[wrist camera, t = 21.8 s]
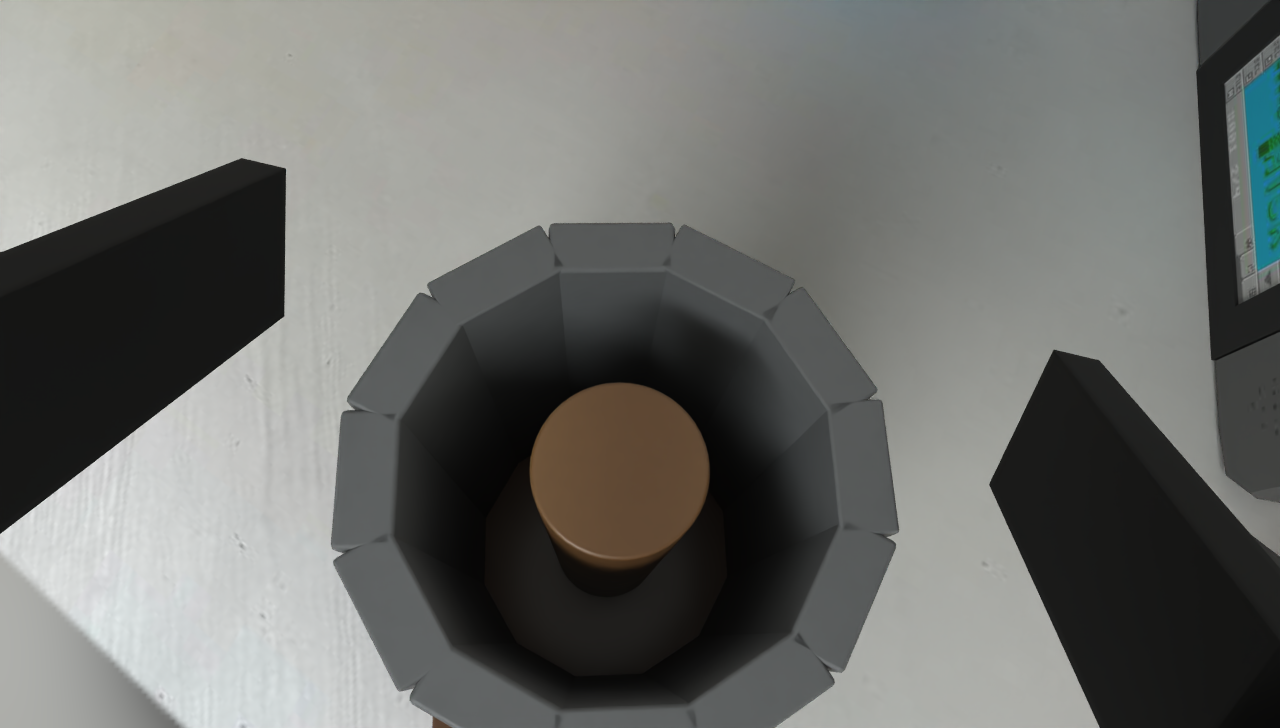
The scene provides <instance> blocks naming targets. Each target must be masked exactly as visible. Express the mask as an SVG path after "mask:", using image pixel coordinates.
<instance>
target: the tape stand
mask: <svg viewBox="0 0 1280 728" xmlns="http://www.w3.org/2000/svg"><path fill="white" fill-rule="evenodd" d="M709 481H710V463H709V456H708V452H707V448H706V444H705V441H704V439H703V437H702V434H701V432H700V430H699V429H698V427H697V425H696V423H695V422H694V421H693V419H692V418H691V417H690V415H689V414H688V413H687V412H686V411H685V410H684V409H683V408H682V407H681V406H680V405H679V404H678V403H676V402H675V401H674V400H673V399H671V398H670V397H668V396H666V395H665V394H663V393H661V392H659V391H657V390H655V389H652V388H649V387H646V386H643V385H639V384H633V383H622V382H616V383H605V384H600V385H596V386H593V387H590V388H587V389H584V390H582V391H580V392H578V393H576V394H574V395H573V396H571V397H569V398H568V399H566V400H565V401H564V402H563V403H561V404H560V405H559V406H558V407H557V408H556V409H555V410H554V411H553V412H552V413H551V414H550V415H549V417H548V418H547V419H546V421H545V422H544V424H543V425H542V427H541V429H540V431H539V433H538V435H537V437H536V440H535V443H534V445H533V449H532V453H531V456H529V457H528V458H526V459H524V460H523V461H521V462H519V463H518V464H517V466H516V468H515V469H514V471H513V473H512V475H511V476H510V478H509V480H508V481H507V483H506V485H505V486H504V488H503V490H502V491H501V493H500V495H499V497H498V498H497V500H496V502H495V503H494V505H493V507H492V508H491V510H490V512H489V513H488V515H487V517H486V529H485V575H484V584H485V586H486V588H487V590H488V592H489V593H490V595H491V597H492V599H493V601H494V602H495V604H496V606H497V608H498V610H499V612H500V613H501V615H502V617H503V619H504V621H505V622H506V624H507V626H508V628H509V630H510V631H511V633H512V635H513V637H514V639H515V640H516V642H517V643H518V644H519V645H521V646H523V647H525V648H526V649H528V650H530V651H532V652H534V653H535V654H537V655H539V656H541V657H542V658H544V659H546V660H548V661H549V662H551V663H553V664H555V665H556V666H558V667H560V668H562V669H563V670H565V671H567V672H569V673H570V674H572V675H574V676H597V675H622V674H643V673H644V672H646V671H647V670H649V669H650V668H652V667H653V666H655V665H656V664H658V663H659V662H661V661H662V660H664V659H665V658H667V657H668V656H670V655H671V654H673V653H674V652H676V651H677V650H679V649H680V648H682V647H683V646H685V645H686V644H688V643H689V642H691V641H692V640H694V639H695V638H697V637H698V636H699V634H700V632H701V630H702V628H703V626H704V624H705V622H706V620H707V618H708V616H709V614H710V612H711V609H712V607H713V605H714V603H715V601H716V599H717V597H718V595H719V593H720V591H721V589H722V587H723V585H724V582H725V580H726V578H727V563H726V548H725V533H724V518H723V511H722V509H721V508H720V506H719V505H718V503H717V501H716V500H715V498H714V497H713V495H712V494H711V492H710V491H709V489H708V488H709ZM432 728H452V727H450V726H449V725H447V724H445V723H444V722H442V721H440V720H439V719H437V718H435V717H433V724H432Z"/></svg>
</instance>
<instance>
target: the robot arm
mask: <svg viewBox="0 0 1280 728" xmlns="http://www.w3.org/2000/svg"><path fill="white" fill-rule="evenodd" d="M285 205H286V169H285V168H281V167H277V166H273V165H268V164H264V163H260V162H256V161H251V160H247V159H243V158H241V159H239V160H236V161H233V162H231V163H228V164H226V165H223V166H221V167H218V168H216V169H213V170H210V171H208V172H205V173H203V174H200V175H198V176H195V177H193V178H190V179H187V180H185V181H182V182H180V183H177V184H175V185H172V186H170V187H167V188H164V189H162V190H159V191H157V192H154V193H152V194H149V195H147V196H144V197H141V198H139V199H136V200H134V201H131V202H129V203H126V204H124V205H121V206H118V207H116V208H113V209H111V210H108V211H106V212H103V213H101V214H98V215H95V216H93V217H90V218H88V219H85V220H83V221H80V222H78V223H75V224H73V225H70V226H67V227H65V228H62V229H60V230H57V231H55V232H52V233H50V234H47V235H44V236H42V237H39V238H37V239H34V240H32V241H29V242H27V243H24V244H21V245H19V246H16V247H14V248H11V249H9V250H6V251H3V252H0V534H1V533H2V532H3V531H5V530H6V529H7V528H8V527H10V526H11V525H12V524H14V523H15V522H16V521H18V520H19V519H20V518H21V517H23V516H24V515H25V514H27V513H28V512H29V511H31V510H32V509H33V508H35V507H36V506H37V505H38V504H40V503H41V502H42V501H44V500H45V499H46V498H48V497H49V496H50V495H52V494H53V493H54V492H55V491H57V490H58V489H59V488H61V487H62V486H63V485H65V484H66V483H67V482H68V481H70V480H71V479H72V478H74V477H75V476H76V475H78V474H79V473H80V472H82V471H83V470H84V469H85V468H87V467H88V466H89V465H91V464H92V463H93V462H95V461H96V460H97V459H98V458H100V457H101V456H102V455H104V454H105V453H106V452H108V451H109V450H110V449H112V448H113V447H114V446H115V445H117V444H118V443H119V442H121V441H122V440H123V439H125V438H126V437H127V436H129V435H130V434H131V433H132V432H134V431H135V430H136V429H138V428H139V427H140V426H142V425H143V424H144V423H145V422H147V421H148V420H149V419H151V418H152V417H153V416H155V415H156V414H157V413H159V412H160V411H161V410H162V409H164V408H165V407H166V406H168V405H169V404H170V403H172V402H173V401H174V400H176V399H177V398H178V397H179V396H181V395H182V394H183V393H185V392H186V391H187V390H189V389H190V388H191V387H192V386H194V385H195V384H196V383H198V382H199V381H200V380H202V379H203V378H204V377H206V376H207V375H208V374H209V373H211V372H212V371H213V370H215V369H216V368H217V367H219V366H220V365H221V364H223V363H224V362H225V361H226V360H228V359H229V358H230V357H232V356H233V355H234V354H236V353H237V352H238V351H239V350H241V349H242V348H243V347H245V346H246V345H247V344H249V343H250V342H251V341H253V340H254V339H255V338H256V337H258V336H259V335H260V334H262V333H263V332H264V331H266V330H267V329H268V328H269V327H271V326H272V325H273V324H275V323H276V322H277V321H279V320H280V319H281V318H283V317H284V295H285ZM989 485H990V487H991V490H992V492H993V494H994V496H995V498H996V501H997V503H998V505H999V507H1000V509H1001V512H1002V514H1003V516H1004V518H1005V520H1006V523H1007V525H1008V527H1009V529H1010V531H1011V534H1012V536H1013V538H1014V540H1015V542H1016V545H1017V547H1018V549H1019V551H1020V553H1021V556H1022V558H1023V560H1024V562H1025V564H1026V567H1027V569H1028V571H1029V573H1030V575H1031V578H1032V580H1033V582H1034V584H1035V586H1036V589H1037V591H1038V593H1039V595H1040V597H1041V600H1042V602H1043V604H1044V606H1045V608H1046V611H1047V613H1048V615H1049V617H1050V619H1051V622H1052V624H1053V626H1054V628H1055V630H1056V632H1057V635H1058V637H1059V639H1060V641H1061V643H1062V646H1063V648H1064V650H1065V652H1066V654H1067V657H1068V659H1069V661H1070V663H1071V665H1072V668H1073V670H1074V672H1075V674H1076V676H1077V679H1078V681H1079V683H1080V685H1081V687H1082V690H1083V692H1084V694H1085V696H1086V698H1087V701H1088V703H1089V705H1090V707H1091V709H1092V712H1093V714H1094V716H1095V718H1096V720H1097V723H1098V725H1099V727H1100V728H1280V557H1279V556H1278V555H1277V554H1275V553H1274V552H1273V551H1271V550H1270V549H1269V548H1268V547H1266V546H1265V545H1264V544H1262V543H1261V542H1260V541H1258V540H1257V539H1256V538H1254V537H1253V536H1252V535H1251V534H1250V533H1249V532H1248V531H1247V530H1246V529H1245V527H1244V526H1243V525H1242V524H1241V523H1240V522H1239V520H1238V519H1237V518H1236V517H1235V516H1234V515H1233V514H1232V512H1231V511H1230V510H1229V509H1228V508H1227V507H1226V506H1225V504H1224V503H1223V502H1222V501H1221V500H1220V499H1219V497H1218V496H1217V495H1216V494H1215V493H1214V492H1213V491H1212V489H1211V488H1210V487H1209V486H1208V485H1207V484H1206V483H1205V481H1204V480H1203V479H1202V478H1201V477H1200V476H1199V475H1198V473H1197V472H1196V471H1195V470H1194V469H1193V468H1192V466H1191V465H1190V464H1189V463H1188V462H1187V461H1186V460H1185V458H1184V457H1183V456H1182V455H1181V454H1180V453H1179V452H1178V450H1177V449H1176V448H1175V447H1174V446H1173V445H1172V443H1171V442H1170V441H1169V440H1168V439H1167V438H1166V437H1165V435H1164V434H1163V433H1162V432H1161V431H1160V430H1159V429H1158V427H1157V426H1156V425H1155V424H1154V423H1153V422H1152V421H1151V419H1150V418H1149V417H1148V416H1147V415H1146V414H1145V412H1144V411H1143V410H1142V409H1141V408H1140V407H1139V406H1138V404H1137V403H1136V402H1135V401H1134V400H1133V399H1132V398H1131V396H1130V395H1129V394H1128V393H1127V392H1126V391H1125V389H1124V388H1123V387H1122V386H1121V385H1120V384H1119V383H1118V381H1117V380H1116V379H1115V378H1114V377H1113V376H1112V375H1111V373H1110V372H1109V371H1108V370H1107V369H1106V368H1105V367H1104V365H1103V364H1102V363H1101V362H1100V361H1099V360H1095V359H1091V358H1087V357H1083V356H1078V355H1074V354H1070V353H1066V352H1061V351H1057V350H1053V352H1052V354H1051V356H1050V358H1049V361H1048V363H1047V365H1046V367H1045V369H1044V371H1043V373H1042V375H1041V377H1040V379H1039V381H1038V384H1037V386H1036V388H1035V390H1034V392H1033V394H1032V396H1031V398H1030V400H1029V402H1028V404H1027V406H1026V409H1025V411H1024V413H1023V415H1022V417H1021V419H1020V421H1019V423H1018V425H1017V427H1016V429H1015V432H1014V434H1013V436H1012V438H1011V440H1010V442H1009V444H1008V446H1007V448H1006V450H1005V452H1004V455H1003V457H1002V459H1001V461H1000V463H999V465H998V467H997V469H996V471H995V473H994V475H993V477H992V480H991V482H990V484H989Z"/></svg>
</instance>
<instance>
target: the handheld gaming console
mask: <svg viewBox="0 0 1280 728" xmlns="http://www.w3.org/2000/svg"><path fill="white" fill-rule="evenodd" d="M1198 33H1199V52H1200V66H1201V67H1200V68H1199V69H1198V70H1197V89H1198V108H1199V128H1200V147H1201V166H1202V186H1203V205H1204V224H1205V244H1206V263H1207V282H1208V302H1209V321H1210V340H1211V360H1215V361H1216V379H1217V397H1218V416H1219V430H1220V437H1221V444H1222V451H1223V457H1224V464H1225V471H1226V475H1227V476H1228V477H1229V478H1231V479H1232V480H1233V481H1235V482H1236V483H1237V484H1239V485H1240V486H1241V487H1243V488H1244V489H1245V490H1246V491H1248V492H1249V493H1250V494H1252V495H1253V496H1255V497H1256V498H1257V499H1263V500H1268V501H1274V502H1279V503H1280V0H1198Z"/></svg>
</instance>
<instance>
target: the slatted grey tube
mask: <svg viewBox="0 0 1280 728" xmlns="http://www.w3.org/2000/svg"><path fill="white" fill-rule="evenodd" d="M794 283H795V280H794V279H792V278H790V277H788V276H786V275H784V274H782V273H780V272H778V271H776V270H774V269H772V268H770V267H768V266H766V265H764V264H762V263H760V262H758V261H756V260H754V259H752V258H750V257H748V256H746V255H744V254H742V253H740V252H738V251H736V250H734V249H732V248H730V247H728V246H726V245H724V244H722V243H720V242H718V241H716V240H714V239H712V238H710V237H708V236H706V235H704V234H702V233H700V232H698V231H696V230H694V229H692V228H691V227H689V226H687V225H683V226H682V227H681V228H680V230H679V232H678V233H677V235H676V237H675V228H674V226H673V224H672V223H554V224H551V225H550V227H549V238H548V236H547V235H546V233H545V232H544V230H543V229H542V227H541V226H537V227H535V228H533V229H531V230H529V231H527V232H525V233H523V234H521V235H519V236H517V237H516V238H514V239H512V240H510V241H508V242H506V243H504V244H502V245H500V246H498V247H496V248H494V249H493V250H491V251H489V252H487V253H485V254H483V255H481V256H479V257H477V258H475V259H473V260H471V261H470V262H468V263H466V264H464V265H462V266H460V267H458V268H456V269H454V270H452V271H450V272H448V273H446V274H445V275H443V276H441V277H439V278H437V279H435V280H433V281H431V282H429V283H428V284H427V286H428V289H429V291H430V293H431V295H432V297H433V298H432V297H430V296H428V295H426V294H424V293H419V294H418V295H417V296H416V297H415V299H414V300H413V302H412V303H411V305H410V306H409V308H408V309H407V311H406V312H405V313H404V315H403V316H402V318H401V319H400V321H399V322H398V324H397V325H396V327H395V328H394V330H393V331H392V333H391V334H390V336H389V337H388V338H387V340H386V341H385V343H384V344H383V346H382V347H381V349H380V350H379V352H378V353H377V355H376V356H375V358H374V359H373V361H372V362H371V363H370V365H369V366H368V368H367V369H366V371H365V372H364V374H363V375H362V377H361V378H360V380H359V381H358V383H357V384H356V386H355V387H354V388H353V390H352V391H351V393H350V394H349V396H348V398H347V402H348V403H349V404H350V405H351V406H352V407H353V408H354V409H355V410H347V411H344V412H343V413H342V415H341V422H340V435H339V447H338V460H337V473H336V486H335V499H334V512H333V524H332V537H331V546H332V549H333V550H336V551H339V552H341V553H344V554H342V555H341V556H339V557H337V558H336V559H335V560H334V561H333V564H334V566H335V568H336V570H337V572H338V574H339V576H340V578H341V580H342V582H343V584H344V586H345V588H346V590H347V592H348V594H349V596H350V598H351V600H352V602H353V604H354V606H355V608H356V610H357V611H358V613H359V615H360V617H361V619H362V621H363V623H364V625H365V627H366V629H367V631H368V633H369V635H370V637H371V639H372V641H373V643H374V645H375V647H376V649H377V651H378V653H379V655H380V657H381V659H382V661H383V663H384V665H385V667H386V669H387V670H388V672H389V674H390V676H391V678H392V680H393V682H394V684H395V686H396V688H397V690H398V691H405V690H408V689H412V688H414V689H413V691H412V693H411V695H410V701H411V703H412V704H413V705H415V706H416V707H418V708H420V709H421V710H423V711H425V712H427V713H428V714H430V715H432V716H433V717H435V718H437V719H439V720H440V721H442V722H444V723H445V724H447V725H449V726H450V727H452V728H775V727H776V726H777V725H779V724H780V723H782V722H783V721H784V720H786V719H787V718H789V717H790V716H791V715H793V714H794V713H796V712H797V711H798V710H800V709H801V708H803V707H804V706H805V705H807V704H808V703H810V702H811V701H812V700H814V699H815V698H817V697H818V696H819V695H821V694H822V693H823V692H825V691H826V690H828V689H829V688H830V687H832V686H833V685H834V683H835V682H834V678H833V677H832V675H831V674H830V672H829V671H832V672H840V673H842V672H843V671H844V670H845V668H846V666H847V663H848V661H849V658H850V656H851V654H852V651H853V649H854V647H855V644H856V642H857V639H858V637H859V635H860V632H861V630H862V627H863V625H864V623H865V620H866V618H867V615H868V613H869V611H870V608H871V606H872V604H873V601H874V599H875V596H876V594H877V592H878V589H879V587H880V584H881V582H882V580H883V577H884V575H885V573H886V570H887V568H888V565H889V563H890V561H891V558H892V556H893V553H894V551H895V549H896V544H895V543H894V542H893V541H892V540H890V539H888V538H886V537H888V536H891V535H894V534H896V533H898V532H899V526H898V518H897V511H896V503H895V495H894V488H893V480H892V472H891V465H890V457H889V449H888V442H887V434H886V426H885V419H884V411H883V403H882V401H881V400H868V399H869V398H870V397H871V396H873V395H874V394H875V393H876V392H877V388H876V386H875V385H874V384H873V382H872V381H871V380H870V378H869V377H868V375H867V374H866V373H865V371H864V370H863V369H862V367H861V366H860V364H859V363H858V362H857V360H856V359H855V358H854V356H853V355H852V353H851V352H850V351H849V349H848V348H847V347H846V345H845V344H844V342H843V341H842V340H841V338H840V337H839V336H838V334H837V333H836V331H835V330H834V329H833V327H832V326H831V325H830V323H829V322H828V320H827V319H826V318H825V316H824V315H823V314H822V312H821V311H820V309H819V308H818V307H817V305H816V304H815V303H814V301H813V300H812V298H811V297H810V296H809V294H808V293H807V292H806V290H805V289H804V288H803V287H801V288H799V289H797V290H795V291H793V292H792V293H790V291H791V289H792V287H793V285H794ZM789 293H790V294H789ZM616 382H622V383H633V384H639V385H643V386H646V387H649V388H652V389H655V390H657V391H659V392H661V393H663V394H665V395H666V396H668V397H670V398H671V399H673V400H674V401H675V402H676V403H678V404H679V405H680V406H681V407H682V408H683V409H684V410H685V411H686V412H687V413H688V414H689V415H690V417H691V418H692V419H693V421H694V422H695V423H696V425H697V427H698V429H699V430H700V432H701V434H702V437H703V439H704V441H705V444H706V448H707V452H708V456H709V463H710V481H709V488H708V489H709V491H710V492H711V494H712V495H713V497H714V498H715V500H716V501H717V503H718V505H719V506H720V508H721V509H722V511H723V518H724V533H725V548H726V563H727V578H726V580H725V582H724V585H723V587H722V589H721V591H720V593H719V595H718V597H717V599H716V601H715V603H714V605H713V607H712V609H711V612H710V614H709V616H708V618H707V620H706V622H705V624H704V626H703V628H702V630H701V632H700V634H699V636H698V637H697V638H695V639H694V640H692V641H691V642H689V643H688V644H686V645H685V646H683V647H682V648H680V649H679V650H677V651H676V652H674V653H673V654H671V655H670V656H668V657H667V658H665V659H664V660H662V661H661V662H659V663H658V664H656V665H655V666H653V667H652V668H650V669H649V670H647V671H646V672H644V673H643V674H622V675H597V676H574V675H572V674H570V673H569V672H567V671H565V670H563V669H562V668H560V667H558V666H556V665H555V664H553V663H551V662H549V661H548V660H546V659H544V658H542V657H541V656H539V655H537V654H535V653H534V652H532V651H530V650H528V649H526V648H525V647H523V646H521V645H519V644H518V643H517V642H516V640H515V639H514V637H513V635H512V633H511V631H510V630H509V628H508V626H507V624H506V622H505V621H504V619H503V617H502V615H501V613H500V612H499V610H498V608H497V606H496V604H495V602H494V601H493V599H492V597H491V595H490V593H489V592H488V590H487V588H486V586H485V584H484V575H485V529H486V517H487V515H488V513H489V512H490V510H491V508H492V507H493V505H494V503H495V502H496V500H497V498H498V497H499V495H500V493H501V491H502V490H503V488H504V486H505V485H506V483H507V481H508V480H509V478H510V476H511V475H512V473H513V471H514V469H515V468H516V466H517V464H518V463H519V462H521V461H523V460H524V459H526V458H528V457H529V456H531V453H532V449H533V445H534V443H535V440H536V437H537V435H538V433H539V431H540V429H541V427H542V425H543V424H544V422H545V421H546V419H547V418H548V417H549V415H550V414H551V413H552V412H553V411H554V410H555V409H556V408H557V407H558V406H559V405H560V404H561V403H563V402H564V401H565V400H566V399H568V398H569V397H571V396H573V395H574V394H576V393H578V392H580V391H582V390H584V389H587V388H590V387H593V386H596V385H600V384H605V383H616Z"/></svg>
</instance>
